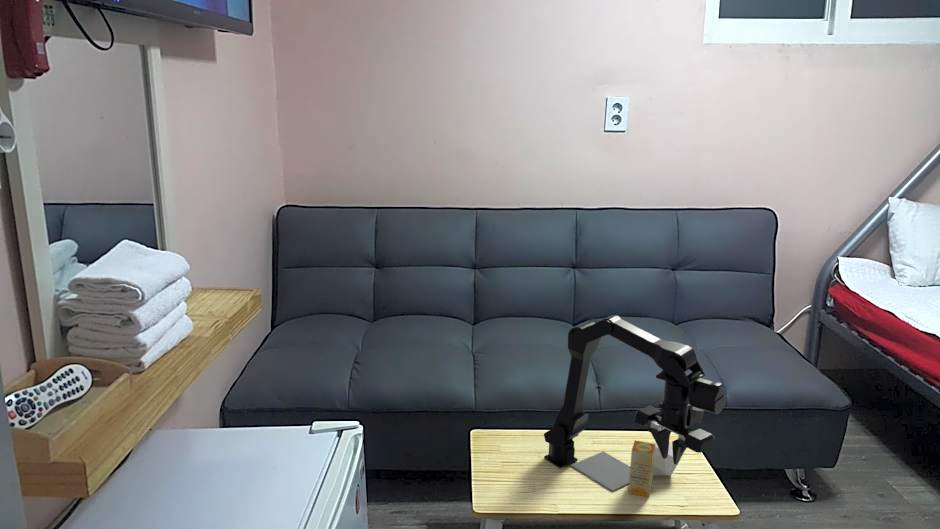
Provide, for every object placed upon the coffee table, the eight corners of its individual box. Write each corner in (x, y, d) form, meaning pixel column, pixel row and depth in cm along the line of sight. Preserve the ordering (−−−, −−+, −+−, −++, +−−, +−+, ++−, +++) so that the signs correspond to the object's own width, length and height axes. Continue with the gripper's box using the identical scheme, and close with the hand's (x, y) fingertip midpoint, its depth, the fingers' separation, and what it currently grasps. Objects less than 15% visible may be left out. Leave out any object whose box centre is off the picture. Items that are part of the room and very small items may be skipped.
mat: (571, 466, 186) (571, 465, 186) (603, 452, 193) (603, 451, 193) (612, 491, 175) (612, 490, 175) (645, 476, 182) (645, 475, 182)
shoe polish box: (651, 487, 177) (655, 444, 174) (648, 498, 173) (652, 453, 170) (631, 483, 179) (634, 440, 176) (628, 493, 174) (631, 449, 171)
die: (670, 488, 178) (689, 455, 179) (640, 470, 178) (660, 436, 179) (661, 481, 186) (679, 449, 187) (632, 464, 186) (651, 432, 187)
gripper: (732, 405, 160) (725, 467, 164) (665, 377, 174) (660, 435, 178) (702, 419, 153) (695, 483, 157) (635, 389, 168) (630, 448, 172)
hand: (670, 460), depth 166 cm, fingers open, 3 cm apart
